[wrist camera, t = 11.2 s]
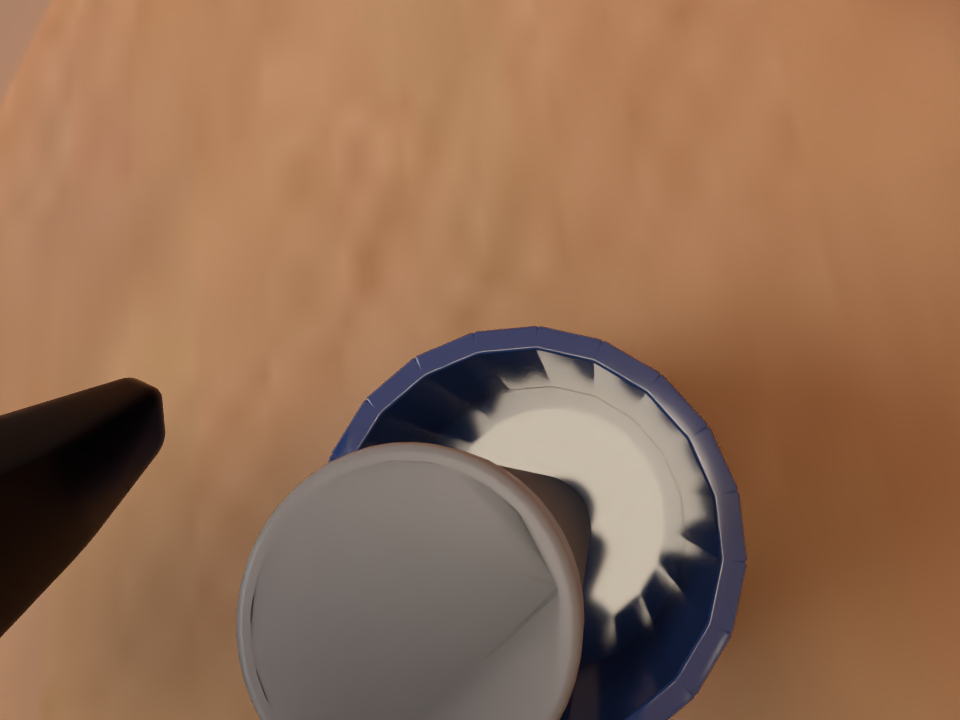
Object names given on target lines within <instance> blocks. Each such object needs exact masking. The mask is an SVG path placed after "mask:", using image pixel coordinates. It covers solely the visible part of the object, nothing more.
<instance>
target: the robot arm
mask: <svg viewBox="0 0 960 720" xmlns="http://www.w3.org/2000/svg"><path fill="white" fill-rule="evenodd" d="M164 438H165V425H164V414H163V403H162V396H161V393H160V392H159V390H158V389H157V388H155V387H153V386H151V385H149V384H147V383H144V382H142V381H140V380H138V379H135V378H123V379H119V380H116V381H113V382H109V383H106V384H103V385H100V386H96V387H93V388H90V389H86V390H83V391H80V392H76V393H73V394H70V395H67V396H63V397H60V398H57V399H53V400H50V401H47V402H43V403H40V404H37V405H34V406H30V407H27V408H24V409H20V410H17V411H14V412H11V413H7V414H4V415H1V416H0V638H1V636H2V635H3V634H4V633H5V632H6V631H7V630H8V629H9V628H10V627H11V626H12V625H13V624H14V623H15V622H16V621H17V619H18V618H19V617H20V616H21V615H22V614H23V613H24V612H25V611H26V610H27V609H28V608H29V607H30V606H31V605H32V604H33V603H34V601H35V600H36V599H37V598H38V597H39V596H40V595H41V594H42V593H43V592H44V591H45V590H46V589H47V588H48V587H49V586H50V584H51V583H52V582H53V581H54V580H55V579H56V578H57V577H58V576H59V575H60V574H61V573H62V572H63V571H64V570H65V569H66V568H67V566H68V565H69V564H70V563H71V562H72V561H73V560H74V559H75V558H76V557H77V556H78V555H79V553H80V552H81V551H82V550H83V549H84V548H85V547H86V546H87V544H88V543H89V542H90V541H91V539H92V538H93V537H94V536H95V535H96V533H97V532H98V531H99V530H100V528H101V527H102V526H103V524H104V523H105V522H106V520H107V519H108V518H109V516H110V515H111V514H112V513H113V511H114V510H115V509H116V507H117V506H118V505H119V503H120V502H121V501H122V499H123V498H124V497H125V496H126V494H127V493H128V492H129V490H130V489H131V488H132V486H133V485H134V484H135V482H136V481H137V480H138V479H139V477H140V476H141V475H142V473H143V472H144V471H145V469H146V468H147V467H148V465H149V464H150V463H151V462H152V460H153V459H154V458H155V456H156V455H157V454H158V452H159V451H160V449H161V447H162V445H163V442H164Z"/></svg>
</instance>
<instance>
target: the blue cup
mask: <svg viewBox="0 0 960 720" xmlns="http://www.w3.org/2000/svg"><path fill="white" fill-rule="evenodd" d="M707 426H708V425H707V423H706V422H705V421H704V420H703V418H702V417H701V416H700V415H699V414H698V413H697V412H696V411H695V410H694V409H693V407H692V406H691V405H690V404H689V403H688V402H687V401H686V400H685V399H684V398H683V396H682V395H681V394H680V393H679V392H678V391H677V390H676V389H675V388H674V387H673V385H672V384H671V383H670V382H669V381H668V380H667V379H666V378H665V377H664V376H663V375H661V374H660V373H659V372H658V371H656V370H654V369H653V368H651V367H649V366H647V365H646V364H644V363H642V362H641V361H639V360H637V359H635V358H634V357H632V356H630V355H628V354H627V353H625V352H623V351H622V350H620V349H618V348H616V347H615V346H613V345H611V344H609V343H608V342H606V341H603V342H602V340H600V339H597V338H592V337H588V336H583V335H579V334H574V333H569V332H565V331H560V330H556V329H551V328H547V327H542V326H540V327H537V326H529V327H519V328H508V329H497V330H487V331H477V332H475V333H469V334H467V335H465V336H462V337H460V338H458V339H455V340H453V341H451V342H448V343H446V344H444V345H441V346H439V347H437V348H434V349H432V350H429V351H427V352H425V353H422V354H420V355H418V356H416V357H415V358H413V359H411V360H410V361H409V362H408V363H407V364H406V365H404V366H403V367H402V368H401V369H400V370H399V371H397V372H396V373H395V374H394V375H393V376H391V377H390V378H389V379H388V380H387V381H386V382H384V383H383V384H382V385H381V386H380V387H379V388H377V389H376V390H375V391H374V392H373V393H372V394H370V395H369V396H368V397H367V400H365V401H364V402H363V403H362V405H361V407H360V408H359V410H358V411H357V413H356V415H355V416H354V418H353V419H352V421H351V422H350V424H349V426H348V427H347V429H346V430H345V432H344V434H343V435H342V437H341V438H340V440H339V441H338V443H337V445H336V446H335V448H334V449H333V451H332V455H331V456H330V458H329V462H331V461H333V460H335V459H337V458H340V457H342V456H344V455H346V454H348V453H351V452H354V451H357V450H360V449H363V448H367V447H370V446H375V445H381V444H387V443H396V442H420V443H430V444H437V445H442V446H446V447H450V448H454V449H458V450H462V451H466V452H469V453H472V454H474V455H477V456H479V457H482V458H485V459H487V460H489V461H491V462H493V463H495V464H496V465H500V466H504V467H509V468H514V469H518V470H523V471H528V472H532V473H537V474H542V475H547V476H551V477H555V478H557V479H560V480H562V481H564V482H565V483H567V484H568V485H570V486H571V487H572V488H573V489H574V490H576V491H577V493H578V494H579V495H580V496H581V498H582V499H583V501H584V503H585V505H586V507H587V509H588V513H589V516H590V522H591V533H590V541H589V548H588V555H587V562H586V569H585V576H584V583H583V590H582V592H583V601H584V630H583V642H582V653H581V659H580V664H579V669H578V673H577V678H576V682H575V685H574V688H573V690H572V693H571V696H570V699H569V702H568V704H567V706H566V708H565V710H564V712H563V714H562V716H561V718H560V720H669V719H670V718H671V717H672V716H673V715H675V714H676V713H677V712H678V711H679V710H681V709H682V708H683V707H684V706H685V705H686V704H688V703H689V702H690V701H691V700H692V699H693V698H694V695H696V694H698V692H699V690H700V689H701V687H702V685H703V683H704V682H705V680H706V678H707V677H708V675H709V673H710V672H711V670H712V668H713V666H714V665H715V663H716V661H717V660H718V658H719V656H720V655H721V653H722V651H723V649H724V648H725V646H726V644H727V643H728V641H729V639H730V638H731V633H732V632H733V629H734V625H735V620H736V615H737V610H738V605H739V600H740V595H741V590H742V586H743V581H744V576H745V571H746V566H747V565H746V563H745V562H746V560H747V556H746V547H745V539H744V530H743V522H742V513H741V505H740V497H739V493H738V491H737V485H736V483H735V481H734V479H733V477H732V475H731V472H730V470H729V468H728V466H727V464H726V461H725V459H724V457H723V455H722V453H721V451H720V448H719V446H718V444H717V442H716V440H715V437H714V435H713V433H712V431H711V429H710V428H709V427H707ZM329 462H328V463H329Z"/></svg>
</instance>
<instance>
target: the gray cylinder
mask: <svg viewBox="0 0 960 720" xmlns="http://www.w3.org/2000/svg"><path fill="white" fill-rule="evenodd" d="M590 533H591V522H590V516H589V513H588V509H587V507H586V505H585V503H584V501H583V499H582V498H581V496H580V495H579V494H578V493H577V491H576V490H574V489H573V488H572V487H571V486H570V485H568V484H567V483H565V482H564V481H562V480H560V479H557V478H555V477H551V476H547V475H542V474H537V473H532V472H528V471H523V470H518V469H514V468H509V467H504V466H500V465H496V464H495V463H493V462H491V461H489V460H487V459H485V458H482V457H479V456H477V455H474V454H472V453H469V452H466V451H462V450H458V449H454V448H450V447H446V446H442V445H437V444H430V443H420V442H396V443H387V444H381V445H375V446H370V447H367V448H363V449H360V450H357V451H354V452H351V453H348V454H346V455H344V456H342V457H340V458H337V459H335V460H333V461H331V462H329V463H327V464H326V465H324V466H323V467H321V468H320V469H318V470H316V471H315V472H313V473H312V474H310V475H309V476H308V477H307V478H306V479H304V480H303V481H302V482H301V483H300V484H298V485H297V486H296V487H295V488H294V489H293V490H292V491H291V492H290V493H289V494H288V495H287V496H286V497H285V498H284V500H283V501H282V502H281V503H280V504H279V505H278V506H277V508H276V509H275V511H274V512H273V513H272V515H271V516H270V518H269V519H268V520H267V522H266V523H265V525H264V527H263V529H262V531H261V532H260V534H259V536H258V538H257V540H256V542H255V544H254V546H253V549H252V551H251V554H250V556H249V559H248V561H247V564H246V568H245V572H244V575H243V579H242V583H241V587H240V593H239V600H238V607H237V643H238V653H239V659H240V664H241V668H242V673H243V677H244V681H245V684H246V687H247V689H248V692H249V695H250V698H251V701H252V703H253V705H254V707H255V709H256V711H257V713H258V715H259V717H260V719H261V720H560V718H561V716H562V714H563V712H564V710H565V708H566V706H567V704H568V702H569V699H570V696H571V693H572V690H573V688H574V685H575V682H576V678H577V673H578V669H579V664H580V659H581V653H582V642H583V630H584V601H583V592H582V590H583V583H584V576H585V569H586V562H587V555H588V548H589V541H590Z"/></svg>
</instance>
